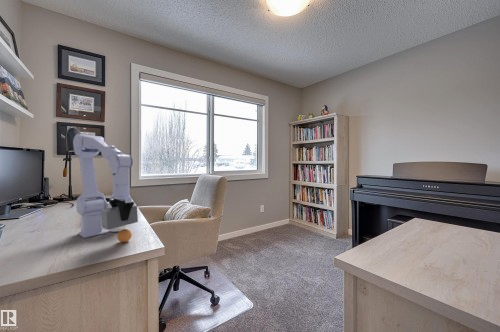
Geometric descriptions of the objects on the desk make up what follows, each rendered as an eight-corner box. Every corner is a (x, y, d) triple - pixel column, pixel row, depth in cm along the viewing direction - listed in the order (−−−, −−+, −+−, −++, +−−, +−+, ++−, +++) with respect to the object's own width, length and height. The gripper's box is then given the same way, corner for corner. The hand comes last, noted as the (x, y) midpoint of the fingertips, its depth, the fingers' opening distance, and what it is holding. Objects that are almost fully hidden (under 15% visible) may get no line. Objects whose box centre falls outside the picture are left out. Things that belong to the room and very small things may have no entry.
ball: (131, 232, 88) (121, 243, 86) (122, 225, 86) (112, 235, 83) (136, 235, 85) (126, 246, 82) (127, 227, 83) (116, 238, 80)
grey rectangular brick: (102, 226, 81) (100, 209, 81) (131, 219, 89) (130, 204, 89) (107, 229, 77) (106, 212, 77) (137, 222, 85) (136, 205, 85)
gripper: (103, 184, 85) (103, 217, 85) (116, 186, 76) (116, 224, 76) (122, 183, 90) (122, 214, 90) (137, 185, 81) (137, 220, 81)
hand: (121, 218), depth 83 cm, fingers closed on grey rectangular brick, 6 cm apart
